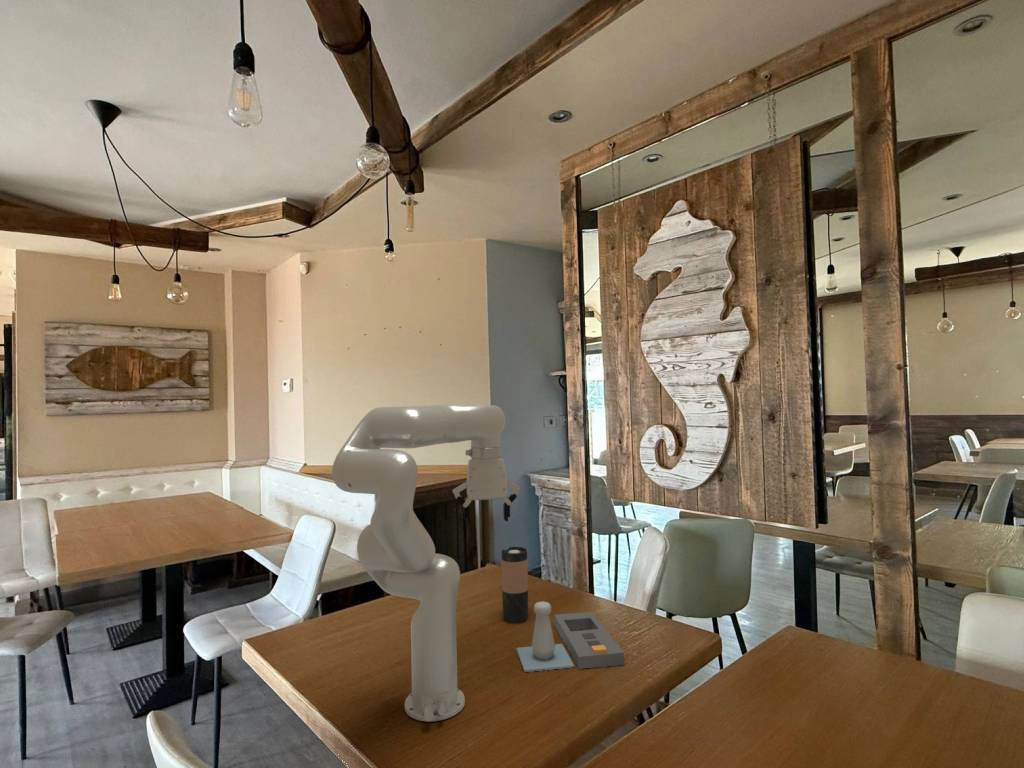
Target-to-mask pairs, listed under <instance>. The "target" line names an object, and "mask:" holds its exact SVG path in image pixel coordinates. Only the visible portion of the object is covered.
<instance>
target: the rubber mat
mask: <svg viewBox="0 0 1024 768" xmlns="http://www.w3.org/2000/svg"><path fill="white" fill-rule="evenodd" d="M515 649H516V653H517V655H518V658H520V659H519V661H520V664H521V667H522V666H523V667H522V668H523V669H524V670H523V669H522V670H523V672H524V673H525V672H529V673H535V672H534V671H539V672H547V670H549V671H555V670H554V669H559V670H564V669H563V668H570V669H572V668H571V667H574V668H575V664H574V662H573V661H572V659H571V657H570V656H569V653H568V652H567V650H566V648H565V646H564V645H563V643H555V650H554V653H553V656H552V658H550V659H548V660H539V659H537V658H536V657H535V655H534V653H533V650H532V645H531V646H522V647H516V648H515ZM543 670H545V671H543Z"/></svg>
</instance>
